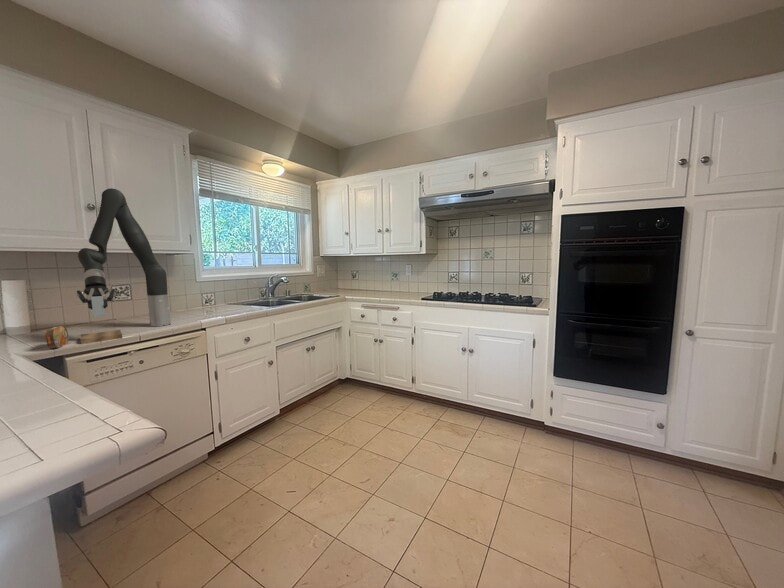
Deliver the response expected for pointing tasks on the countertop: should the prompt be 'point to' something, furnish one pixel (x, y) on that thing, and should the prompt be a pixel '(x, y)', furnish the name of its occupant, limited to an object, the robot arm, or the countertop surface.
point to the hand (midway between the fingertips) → (98, 307)
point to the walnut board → (100, 336)
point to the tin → (57, 337)
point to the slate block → (97, 306)
